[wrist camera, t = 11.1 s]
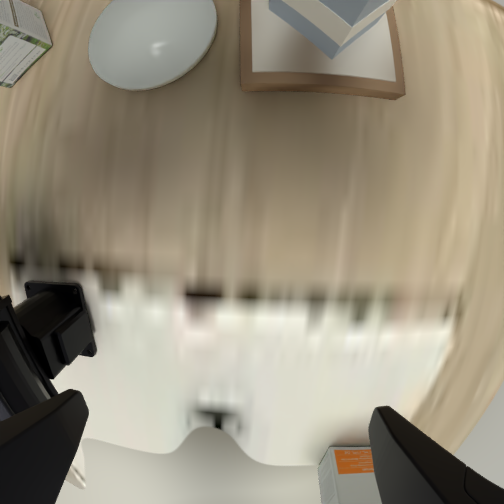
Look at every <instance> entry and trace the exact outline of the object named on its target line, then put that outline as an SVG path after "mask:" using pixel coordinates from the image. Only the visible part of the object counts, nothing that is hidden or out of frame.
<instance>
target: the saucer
mask: <svg viewBox="0 0 504 504" xmlns="http://www.w3.org/2000/svg"><path fill="white" fill-rule="evenodd" d="M217 24H218V20H217V12H216V9H215V6H214V3H213V1H212V0H113V1H112V2H111V3H110V4H109V5H108V6H107V7H106V8H105V9H104V10H103V12H102V13H101V14H100V16H99V17H98V19H97V21H96V23H95V25H94V27H93V29H92V32H91V35H90V39H89V46H88V53H89V59H90V63H91V65H92V68H93V69H94V71H95V72H96V74H97V75H98V76H99V77H100V78H101V79H103V80H104V81H105V82H107V83H109V84H111V85H113V86H115V87H117V88H121V89H124V90H130V91H143V90H150V89H155V88H158V87H161V86H164V85H166V84H169V83H171V82H173V81H175V80H177V79H178V78H180V77H182V76H183V75H185V74H186V73H187V72H189V71H190V70H191V69H192V68H193V67H195V66H196V65H197V64H198V63H199V61H200V60H201V59H202V58H203V57H204V56H205V54H206V53H207V52H208V50H209V48H210V46H211V45H212V43H213V40H214V38H215V35H216V31H217Z"/></svg>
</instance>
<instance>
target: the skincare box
mask: <svg viewBox="0 0 504 504" xmlns="http://www.w3.org/2000/svg"><path fill="white" fill-rule="evenodd" d="M318 476H319V485H320V494H321V502H322V504H382V502H381V498H380V494H379V490H378V486H377V482H376V478H375V474H374V468H373V460H372V453H371V447H329V448H328V450H327V452H326V454H325V456H324V458H323V460H322V462H321V463H320V465H319V467H318Z"/></svg>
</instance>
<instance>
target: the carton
mask: <svg viewBox="0 0 504 504" xmlns="http://www.w3.org/2000/svg"><path fill="white" fill-rule="evenodd" d="M396 1H397V0H269V10H270V11H272V12H273V13H274V14H276V15H277V16H279V17H280V18H281V19H283V20H284V21H285V22H287V23H288V24H289V25H291V26H292V27H293V28H294V29H296V30H297V31H298V32H300V33H301V34H302V35H303V36H304V37H306V38H307V39H308V40H309V41H311V42H312V43H313V44H314V45H315V46H317V47H318V48H319V49H320V50H321V51H322V52H324V53H325V54H326V55H327V56H328V57H329V58H330V59H331V60H332V59H333V58H334V57H336V56H337V55H338V54H339V53H340V52H342V51H343V50H344V49H345V48H346V47H348V46H349V45H350V44H351V43H352V42H354V41H355V40H356V39H357V38H359V37H360V36H361V35H362V34H364V33H365V32H366V31H368V30H369V29H370V28H371V27H373V26H374V25H375V24H377V22H378V21H379V20H380V19H381V17H382V16H383V15H384V14H385V12H386V11H387V10H389V9H390V8H391V7H392V5H393V4H394V3H395V2H396Z"/></svg>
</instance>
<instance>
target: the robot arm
mask: <svg viewBox="0 0 504 504" xmlns="http://www.w3.org/2000/svg"><path fill="white" fill-rule="evenodd" d="M24 286H25V291H26V295H27V299H26V300H25V301H23V302H22V303H20V304H19V305H17V306H16V307H14V308H13V306H12V304H11V302H12V301H11V298H10V296H9V295H6V296H3V297H1V296H0V504H55V502H56V500H57V497H58V495H59V492H60V490H61V487H62V485H63V483H64V480H65V478H66V475H67V473H68V471H69V468H70V466H71V464H72V461H73V459H74V457H75V454H76V452H77V449H78V446H79V443H80V440H81V437H82V434H83V431H84V428H85V425H86V422H87V419H88V415H89V410H88V407H87V405H86V402H85V400H84V397H83V395H82V393H81V392H80V391H77V390H73V389H68V390H66V391H64V392H62V393H60V394H58V392H57V391H56V389H55V387H54V386H53V384H52V382H51V381H50V379H54V378H55V377H56V376H57V375H58V374H59V373H60V372H61V371H62V369H63V368H64V367H65V366H66V365H68V366H69V365H70V364H71V363H72V362H73V361H74V360H75V358H76V357H77V356H78V355H82V356H88V357H93V356H94V355H95V354H96V348H95V344H94V340H93V335H92V331H91V327H90V323H89V319H88V314H87V311H86V307H85V302H84V297H83V292H82V288H81V287H80V285H78V284H75V283H57V282H42V281H27V282H26V283H25V285H24ZM29 286H30V287H29ZM75 289H76V290H77V292H76V291H75ZM90 350H91V351H90ZM368 431H369V439H370V446H371V453H372V460H373V468H374V474H375V478H376V482H377V486H378V490H379V494H380V498H381V502H382V504H504V489H503V488H501V487H499V486H497V485H496V484H494V483H492V482H491V481H489V480H487V479H486V478H484V477H483V476H481V475H480V474H478V473H477V472H475V471H474V470H473V469H471V468H470V467H468V466H467V467H466V464H464V463H463V462H462V461H460V460H459V459H457V458H456V457H455V456H453V455H452V454H451V453H449V452H448V451H447V450H445V449H444V448H443V447H441V446H440V445H439V444H438V443H436V442H435V441H434V440H432V439H431V438H430V437H428V436H427V435H426V434H424V433H423V432H422V431H421V430H419V429H418V428H417V427H415V426H414V425H413V424H411V423H410V422H409V421H408V420H406V419H405V418H404V417H403V416H401V415H400V414H399V413H397V412H396V411H395V410H394V409H392V408H391V407H390V406H380V407H376V408H375V409H374V411H373V414H372V417H371V421H370V424H369V429H368Z"/></svg>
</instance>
